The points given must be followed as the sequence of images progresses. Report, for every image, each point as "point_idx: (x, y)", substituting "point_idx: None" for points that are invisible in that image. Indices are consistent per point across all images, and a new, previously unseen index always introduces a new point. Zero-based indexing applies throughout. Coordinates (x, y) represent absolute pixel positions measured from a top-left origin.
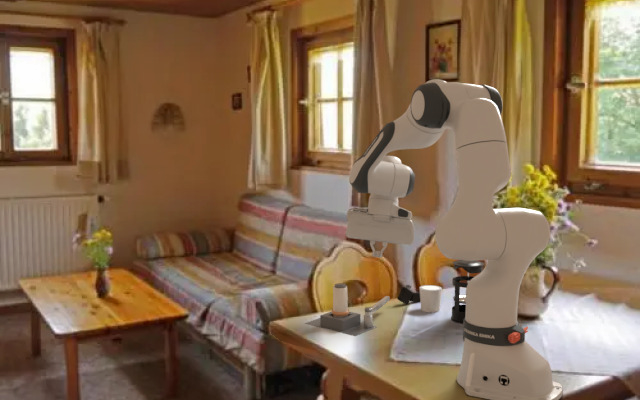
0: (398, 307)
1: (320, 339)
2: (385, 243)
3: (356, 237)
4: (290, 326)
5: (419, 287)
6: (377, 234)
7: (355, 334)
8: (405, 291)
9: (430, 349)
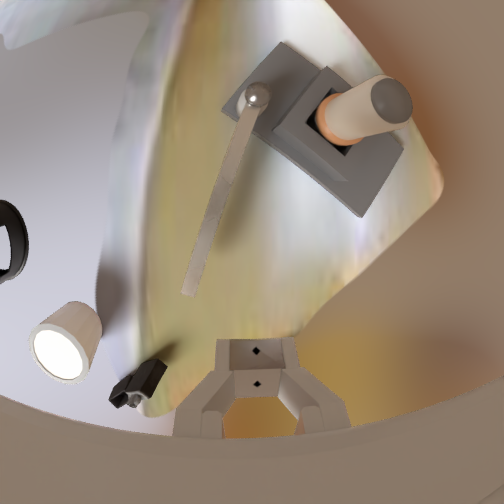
0: (163, 340)
1: (356, 58)
2: (193, 428)
3: (468, 392)
4: (422, 155)
5: (88, 360)
6: (303, 490)
7: (281, 51)
8: (141, 382)
9: (106, 8)
